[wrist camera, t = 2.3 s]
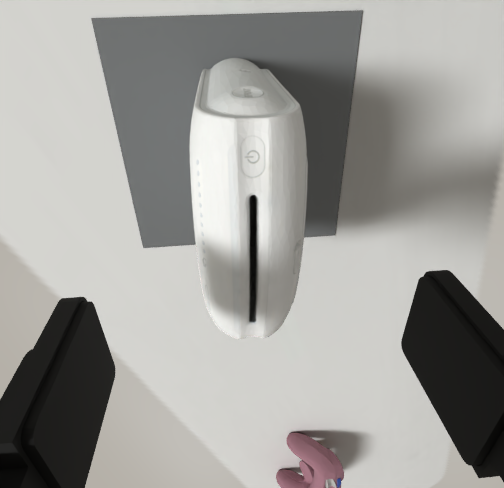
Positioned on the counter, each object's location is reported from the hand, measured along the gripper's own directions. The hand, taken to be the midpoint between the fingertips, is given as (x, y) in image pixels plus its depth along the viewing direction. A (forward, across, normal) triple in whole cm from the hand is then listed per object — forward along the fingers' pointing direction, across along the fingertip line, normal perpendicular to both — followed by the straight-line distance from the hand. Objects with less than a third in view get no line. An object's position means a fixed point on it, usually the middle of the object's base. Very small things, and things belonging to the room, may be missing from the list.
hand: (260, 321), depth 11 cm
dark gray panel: (+15, 0, 0) cm, 15 cm away
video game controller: (+16, -6, +37) cm, 41 cm away
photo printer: (+15, 0, 0) cm, 15 cm away
